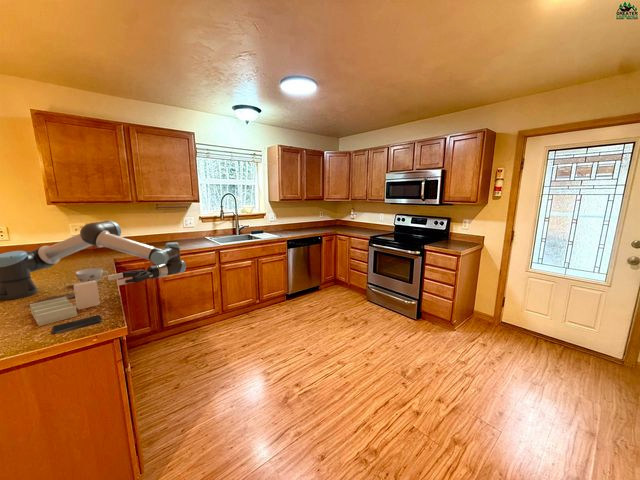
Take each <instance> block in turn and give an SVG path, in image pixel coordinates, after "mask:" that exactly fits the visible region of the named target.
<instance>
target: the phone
mask: <svg viewBox="0 0 640 480" xmlns="http://www.w3.org/2000/svg"><path fill="white" fill-rule="evenodd" d="M100 322H101V323H102V322H103V319H102V316H101V315H99V314H97V315H93V316H90V317H89V316H88V317H86V318H81V319H77V320H76V319H75V320H73V321H69V322H64V323H60V324H55V325H53V326H52V328H51V329H52V335H57V334H62V333H66V332H69V331H74V330H77V329H81V328H85V327H89V326H93V325H97V324H100Z"/></svg>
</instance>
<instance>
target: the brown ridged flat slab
mask: <svg viewBox="0 0 640 480" xmlns="http://www.w3.org/2000/svg"><path fill="white" fill-rule="evenodd" d="M62 297H67V300H70V299H73V298H75V292H70V293H65V294H61V295H54V296H50V297H46V298H44V299H43V298H42V299H38V300H36V301H34V302H32V303H29V304H26V305H24V306H22V307H21V309H24V308H28V307H29V308H30V304H34V303H39V302H43V301H48V300H53V299H57V298H62Z"/></svg>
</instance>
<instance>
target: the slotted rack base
mask: <svg viewBox="0 0 640 480" xmlns="http://www.w3.org/2000/svg"><path fill="white" fill-rule="evenodd" d="M33 303H34V302H33ZM29 304H30V306H29V308H30V313H31V315H32V317H33V318H34V320H35V322H36V323H37V325H38V327H41V326H45V325H49V324H52V323H56V322H57V323H58V322H60V320H61V321H63V320H68V319H71V318H74V317H75V318H77V317H78V311H77V310H78V309H77V306H76V305H74V304H73V302H71V301H70V299H67V297H62V298H57V299H53V300H48V301H43V302H39V303H34V304H31V303H29Z"/></svg>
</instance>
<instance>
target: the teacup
mask: <svg viewBox="0 0 640 480" xmlns="http://www.w3.org/2000/svg"><path fill="white" fill-rule="evenodd" d="M104 273H106V275H104V276H103V274H104ZM75 275H76V278H77V279H78V280H79V281H80V283H83V282H88V281H93V280H95V281H97V282H98V281H100V280H101V279H104V278H106V277H108V275H109V271H108V270H103V268H99V267H94V268H93V267H92V268H85V269H81V270H77V271H76V272H75Z"/></svg>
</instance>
